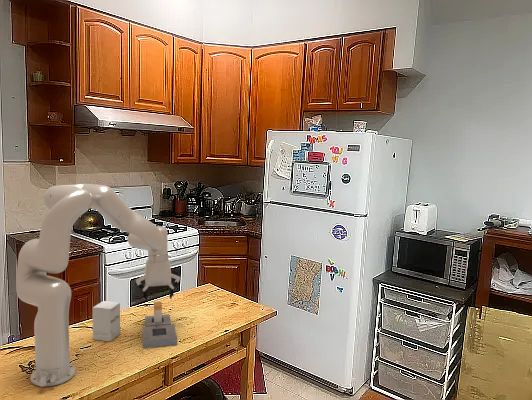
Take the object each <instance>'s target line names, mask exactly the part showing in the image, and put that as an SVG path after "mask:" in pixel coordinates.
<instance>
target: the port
mask: <svg viewBox="0 0 532 400" xmlns="http://www.w3.org/2000/svg"><path fill="white" fill-rule="evenodd" d="M171 346H178V336H177V330H176V325H175V324H173V323H171V325H160V326H148V327H145V326H142V349H152V348H162V347H163V348H164V347H171Z"/></svg>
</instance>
